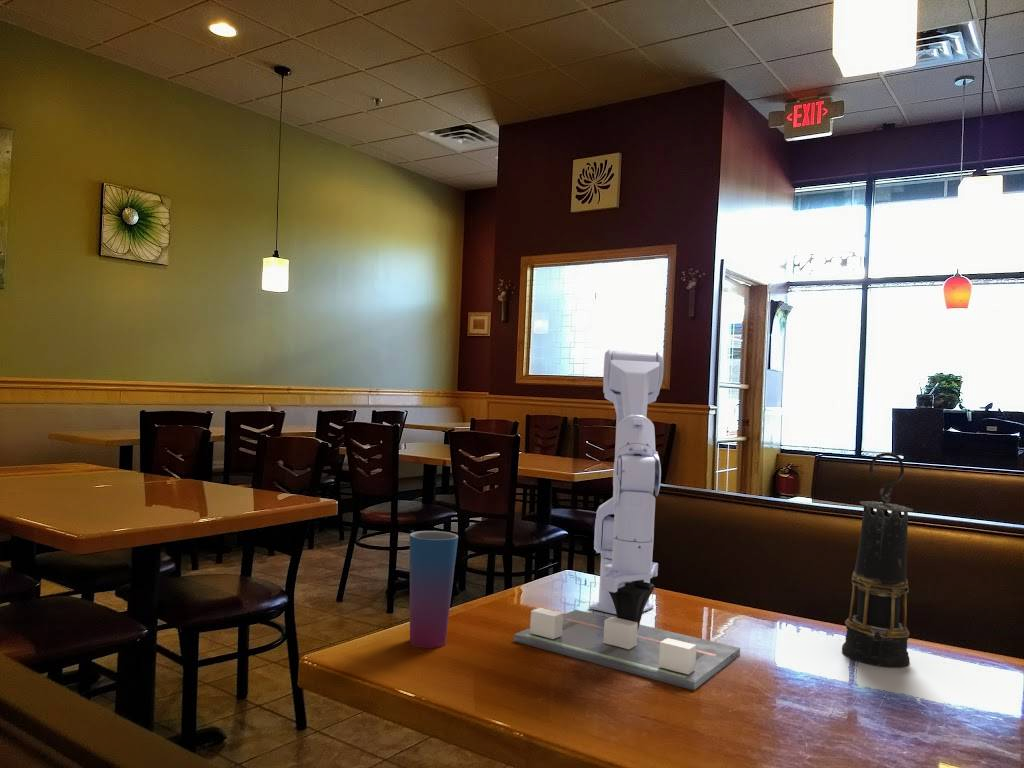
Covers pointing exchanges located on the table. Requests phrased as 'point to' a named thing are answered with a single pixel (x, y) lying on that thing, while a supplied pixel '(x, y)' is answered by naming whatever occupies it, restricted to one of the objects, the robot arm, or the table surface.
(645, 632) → the panel
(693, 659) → the block
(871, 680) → the table surface
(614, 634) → the breaker mid
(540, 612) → the breaker
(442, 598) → the cup
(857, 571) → the lantern
